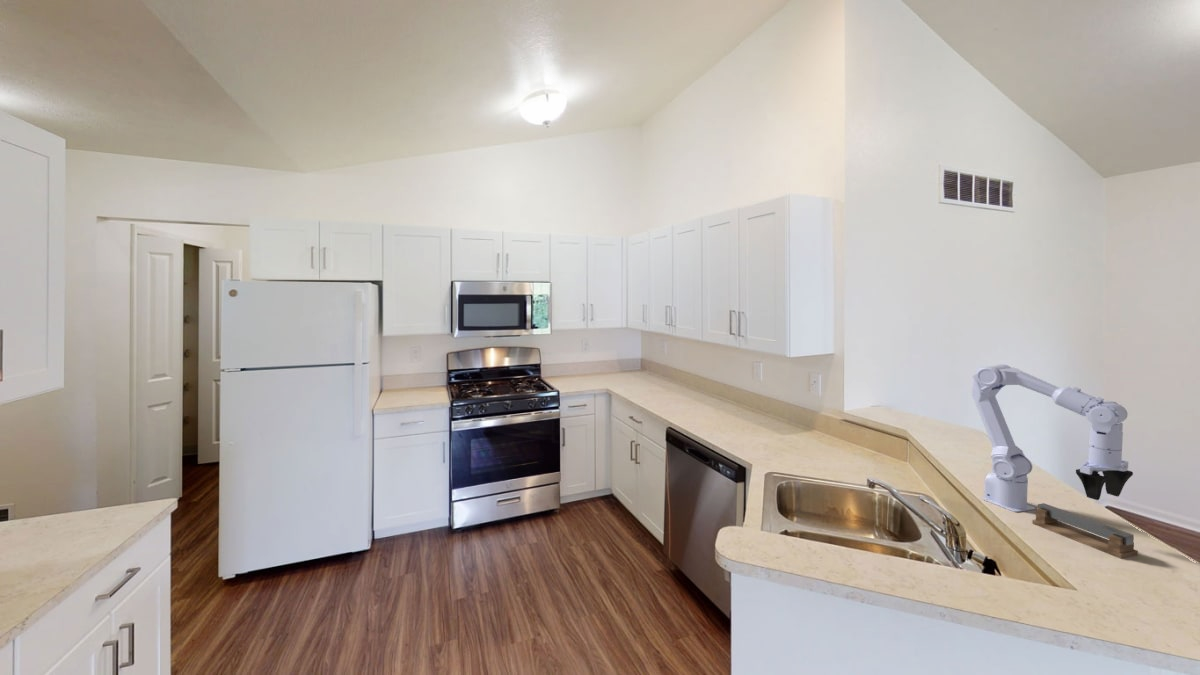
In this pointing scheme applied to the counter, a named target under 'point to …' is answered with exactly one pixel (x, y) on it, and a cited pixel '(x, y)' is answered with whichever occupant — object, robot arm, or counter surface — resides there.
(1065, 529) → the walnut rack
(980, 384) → the robot arm
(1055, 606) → the counter surface
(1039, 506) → the graphite rail
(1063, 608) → the counter surface
